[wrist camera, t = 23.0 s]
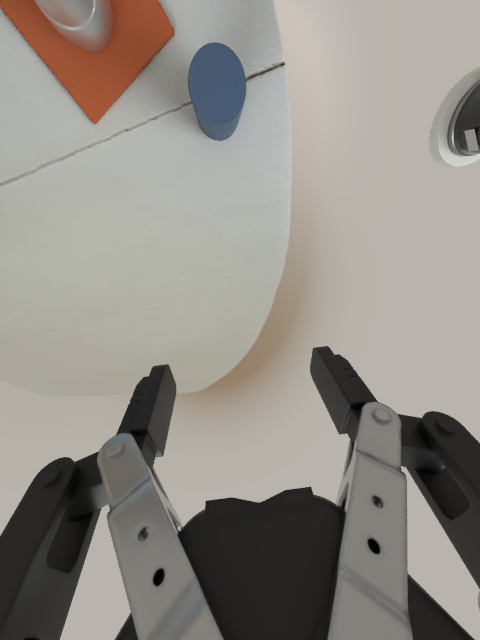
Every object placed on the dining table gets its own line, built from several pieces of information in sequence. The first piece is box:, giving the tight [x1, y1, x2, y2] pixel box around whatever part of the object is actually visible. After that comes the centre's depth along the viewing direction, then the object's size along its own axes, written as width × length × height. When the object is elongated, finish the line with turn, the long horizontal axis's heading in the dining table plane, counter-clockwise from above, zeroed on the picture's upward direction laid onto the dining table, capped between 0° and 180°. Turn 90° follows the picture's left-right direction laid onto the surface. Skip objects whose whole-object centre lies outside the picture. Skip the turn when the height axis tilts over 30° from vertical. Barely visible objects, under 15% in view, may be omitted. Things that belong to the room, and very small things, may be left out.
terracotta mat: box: [0, 0, 175, 124], centre depth 23 cm, size 14×12×1 cm
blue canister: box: [188, 43, 246, 141], centre depth 24 cm, size 6×6×9 cm
